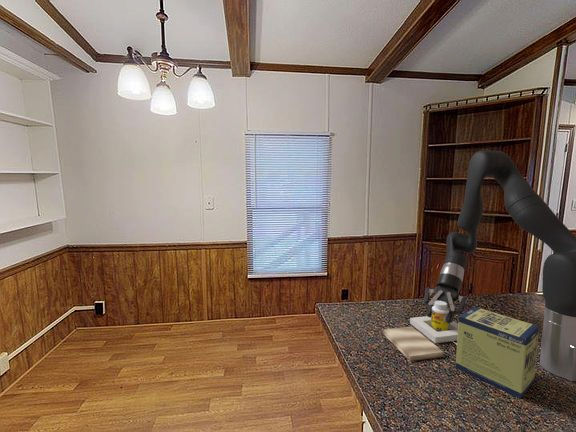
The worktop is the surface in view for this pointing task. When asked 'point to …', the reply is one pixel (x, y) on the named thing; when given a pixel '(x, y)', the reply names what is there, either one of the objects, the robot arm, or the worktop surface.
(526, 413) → the worktop surface
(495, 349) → the protein box
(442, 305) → the supplement bottle
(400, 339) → the birch board
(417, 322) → the collar stand
